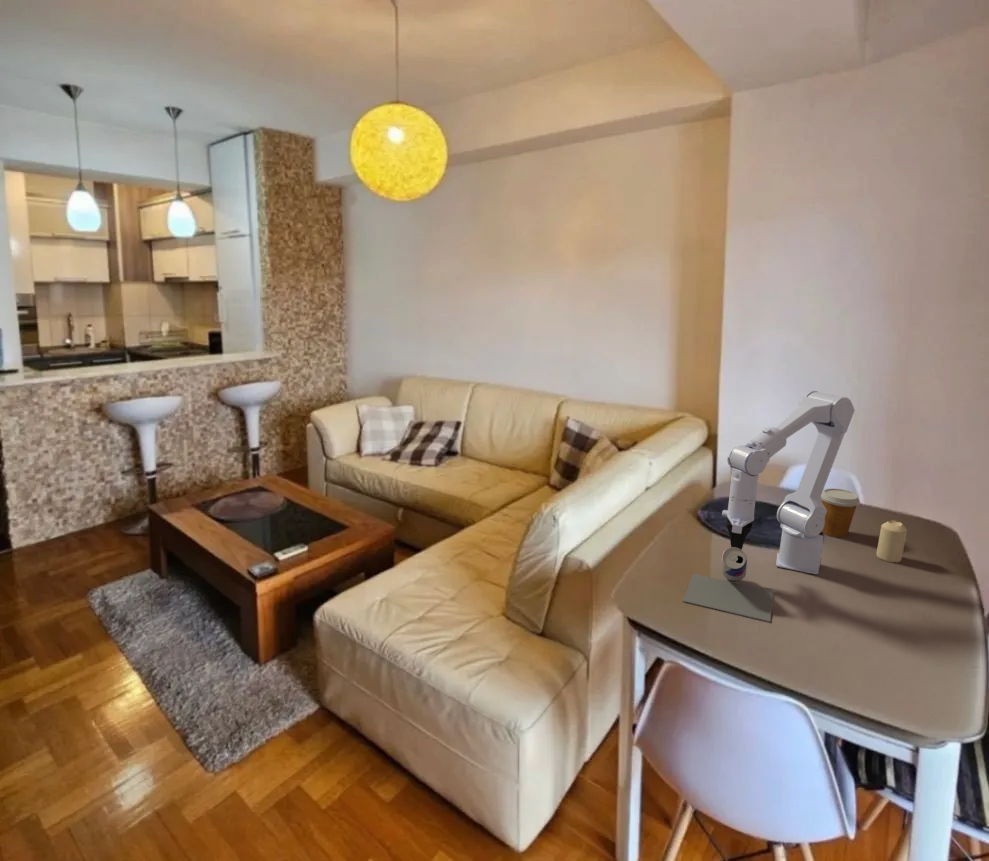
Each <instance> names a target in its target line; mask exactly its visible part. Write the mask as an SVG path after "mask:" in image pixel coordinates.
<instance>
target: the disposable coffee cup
mask: <svg viewBox="0 0 989 861" xmlns="http://www.w3.org/2000/svg"><path fill="white" fill-rule="evenodd" d="M820 500H821V502H822V504H823V505H824V507H825V508H826V510H827V512H826V515H825V524H824V528H823V530H822V531H821V533H823V534H824V535H826V536H828V537H833V538H846V537H848V534H849V530H850V527H851V524H852V521H853V518H854V515H855V512H856V508H857V506H858V505H859V503H860V499H859V495H858V494H857V493H855V492H853V491H850V490H848V489H847V490H846V489H843V488H842V489H841V488H831V487H830V488H824V489H823V492H822V494H821V497H820Z"/></svg>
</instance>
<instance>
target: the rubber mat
mask: <svg viewBox="0 0 989 861" xmlns="http://www.w3.org/2000/svg"><path fill="white" fill-rule="evenodd" d="M690 578H691V579H690V581H689V583H688V587H687V589H686V592H685V594H684V597H683V599H682V603H685V602H688V603H687V604H689V603H693V604H692V605H694V604H697V605H696V606H698V605H701V606H700V607H702V606H706V607H709V608H708V609H711V608H713V609H712V610H715V609H717V610H716V611H719V610H722V611H721V612H723V611H725V612H724V613H727V612H729V613H728V614H732V615H735V616H741V617H743V618H744V617H745V618H750V619H753V620H758V621H762V622H765V623H766V622H767V623H771V619H772V618H771V617H772V609H773V599H774V590H771V589H768V588H761V587H757V586H751V585H748V584H742V583H739V582H735V581H730V580H725V579H720V578H717V577H716V578H714V577H710V576H706V575H701V574H696V573H692V576H691V577H690ZM706 607H705V608H706Z"/></svg>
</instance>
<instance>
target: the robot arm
mask: <svg viewBox="0 0 989 861" xmlns="http://www.w3.org/2000/svg"><path fill="white" fill-rule="evenodd" d="M798 402H799V403H798V406H797V408H795V409H794V410H793V411H792V412H791V413H790V414H789V415H788V416H786V418H784V419H783V420H782V421H781V422H780V423H779V424H778V425H777V426H776V427H774V426H768V427H765V428H764V429H762V431H761V432H760V433H759V434H757V435H756V436H755V437H753V438H752V439H751V440H750V441H748V442H747V443H745V445H743V444H740V445H738V446H735V447H734V448H733V449H732V450H731V451H730V452H729V455H728V456H727V459H726V460H727V464H728V466H729V473H730V475H731V477H730V478H731V480H730V488H729V496H728V498H729V499H728V506H727V509H723V510H722V511H721V512H722V513H721V515H722V516H725V517H727V519H726V523H725V526H726V529H727V532H728V533H729V534H728V535H729V539H730V540H729V541H730V548H731V547H735V548H739V549H741V550H742V551H743V548H744V544H745V540H746V538H747V535H749V533H750V532H751V530H752V527H753V523H754V520H755V506H756V500H757V499H756V498H757V491H758V483H759V474H761V473H763V472H764V470H765V469H766V466H767V464H768V463H769V462H770V459H771V458H772V457H773V456H775V455H776V454H778V452H780V451H781V450H782V449H783V448H785V447H786V446H787V439H788V438H790V437H791V436H792V435H794V434H795V433H797V432H798V431H800V430H802V429H803V428H805V427H806V426H808V425H809V424H813V425H814V426H815V427H816V428H815V429H816V430H817V432H818V434H817V436H816V439H815V442H814V443H813V444H814V445H813V446H812V449H811V452H810V454H809V457H808V460H807V463H806V465H805V468H804V471H803V473H802V476H801V478H800V481H799V483H798V486H797V488H796V491H795V492H792V493H789V494H787V495H785V497H784V500H783V502H782V503H781V504H780V506H779V507H778V508H777V511H776V519H777V521H778V522H779V524H780V526H779V527H780V528H781V538H780V544H779V551H778V552H777V553H776V562H775V566H776V567H777V568H781V569H787V570H790V571H791V570H792V571H797V572H802V573H807V574H811V575H812V574H813V575H820V574H819V572H820V565H821V563H822V551H823V542H824V535H822V534H821V533H822V530H823V528H824V524H825V515H826V512H827V510H826V508H825V507H824V505H823V504H822V499H821V494H822V493H823V491H824V490H825V486H826V483H827V481H828V478H829V475H830V473H831V471H832V468H833V465H834V462H835V460H836V458H837V455H838V451H839V449H840V446H841V444H842V442H843V440H844V436H845V434H846V433H847V431H848V429H849V426H850V423H851V421H852V418H853V416H854V414H855V407H854V405H853V403H852V401H851V399H850V398H848V397H847V396H836V395H833V394H828V393H824V392H819V391H817V390H810V391H809V392H807V393H806V394H805V395H804V396H802V397H800V400H799V401H798Z"/></svg>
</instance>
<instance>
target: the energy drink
mask: <svg viewBox="0 0 989 861" xmlns="http://www.w3.org/2000/svg"><path fill="white" fill-rule="evenodd" d="M747 565H748V558H747V555H746V553H745V552H744V551H743V549H742V550H741V549H739V548H735V547H731V546H730V547H728V548H726V549H725V550H724V551H723V552H722V555H721V568H722V569H721V571H722V574H723V576H724V577H725V578H726V579H727V581H730V582H734V583H737V582H740V581H742V580H743V579H744V578H745V577H746V574H747Z"/></svg>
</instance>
